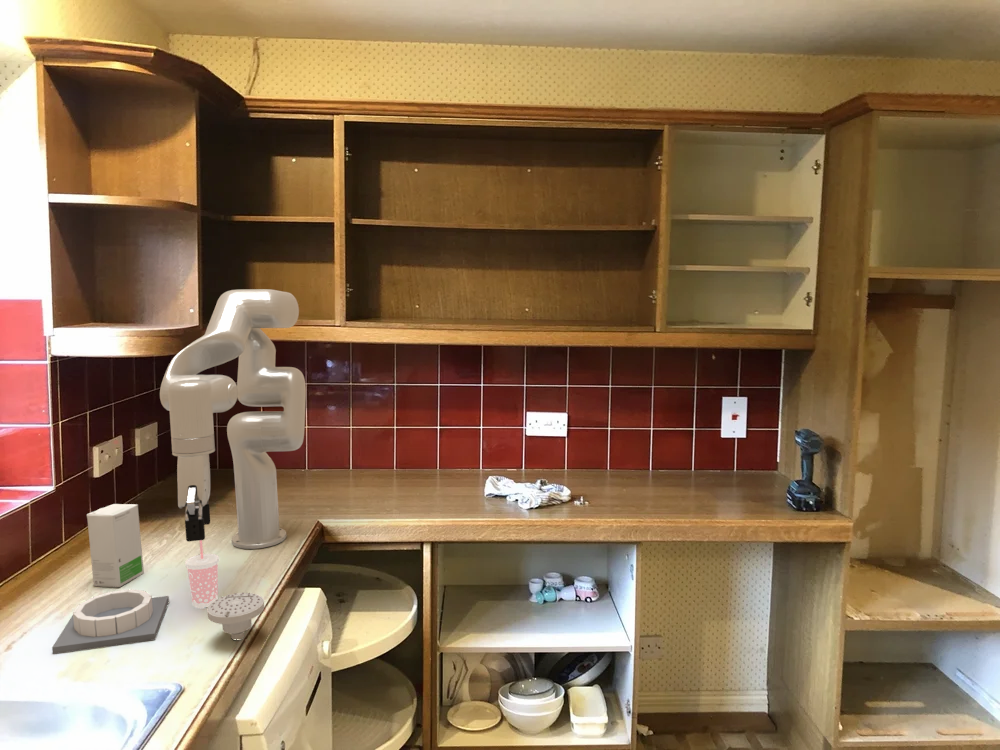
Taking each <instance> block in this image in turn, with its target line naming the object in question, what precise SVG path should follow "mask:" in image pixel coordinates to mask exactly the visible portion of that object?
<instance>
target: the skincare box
mask: <svg viewBox="0 0 1000 750" xmlns="http://www.w3.org/2000/svg"><path fill="white" fill-rule="evenodd" d="M139 515H140V514H139V504H137V503H136V504H134V503H133V504H132V503H131V504H130V503H129V504H128V503H126V504H125V503H123V504H122V503H113V504H110V505H106V506H105V507H104V506H103V507H100V508H99V509H97V510H94V511H91V512H89V513H87V514H86V519H87V528H88V540H89V549H90V559H91V560H90V561H91V572H92V573H91V575H92V582H93V583H92V584H93V587H100V588H101V587H103V588H120V587H122V586H124V585H125V584H127V583H129V582H131V581H133V580H134V579H136V578H138V577H140V576H141V574H142V575H143V574H144V573H145V572H144V562H143V561H144V560H143V549H142V540H141V539H142V538H141V537H142V536H141V529H140V528H141V527H140V516H139ZM139 575H140V576H139ZM132 579H133V580H132Z"/></svg>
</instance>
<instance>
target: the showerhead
mask: <svg viewBox="0 0 1000 750" xmlns="http://www.w3.org/2000/svg"><path fill="white" fill-rule="evenodd" d="M264 609H265V599H264V598H263V597H262V596H261V595H259V594H257V593H253V592H252V593H251V592H239V593H238V592H237V593H235V592H234V593H233V594H227V595H225V596H221V597H220V598H218V599H217V600H215V601H213V602H212V603H211V604H210V605H209V606H208V608H207V609H206V611H207V612H206V614H207V619H208V620H210V622H212V623H213V624H214V623H215V624H219V625H222V631H223V632H224V633H226V634H230V636H231V638H232V639H236V640H237V639H242V638H243V637H244V638H245V631H248V629H250V628H251V627H252V619H254V618H256V617H258V616H259V615H261V614H262V613H263V611H264ZM244 638H243V639H244ZM232 639H231V640H232ZM243 639H242V640H243Z"/></svg>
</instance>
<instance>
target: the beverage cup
mask: <svg viewBox="0 0 1000 750" xmlns="http://www.w3.org/2000/svg"><path fill="white" fill-rule="evenodd" d="M199 552H200V554H196V555H193V556H191V557H188V558H187V559H186V560H185V561H184V562H185V567H186V568H187V575H188V581H189V589H190V594H191V595H190V596H191V602H192V607H193V606H194V607H193V608H195V607H196V608H195V609H205V608H204V607H208V606H209V605H210V604H211V603H212V602H213V601H215V600H217V599H219V598H218V597H219V595H218V594H219V593H218V592H219V591H218V590H219V586H218V584H219V580H218V579H219V578H218V577H219V572H218V570H219V567H218V566H219V565H218V564H219V562H220V557H219V555H218V554H215V553H204V548H203V540H199Z"/></svg>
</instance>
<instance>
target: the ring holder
mask: <svg viewBox="0 0 1000 750" xmlns="http://www.w3.org/2000/svg"><path fill="white" fill-rule="evenodd" d="M169 597H170V596H169V595H163V596H156V597H152V595H151V594H150V593H149V592H147V591H146V590H139V589H132V588H131V589H121V590H114V591H108V592H105V593H102V594H98V595H95V596H92V597H90V598H88V599H86V600H85V601H83V602H80V603H79V604H78V605H77V606H76V608H75V609H74V611H72V616H71V617H70V618H69V620H68V622H67V624H66V625H65V626H64V628H63V630H62V631H61V633H60V634H59V636H58V638H57V639H56V640H55V642H54V644H53V645H52V647H51V651H52V655H55V654H56V655H57V654H62V653H71V652H78V651H85V650H92V649H98V648H99V649H101V648H106V647H114V646H119V645H126V644H127V645H129V644H136V643H142V642H149V641H155V640H156V638H157V635H158V633H159V630H160V628H161V625H162V621H163V618H164V617H163V616H165V613H166V612H167V608H168V606H167V605H169V603H168V602H170V598H169Z"/></svg>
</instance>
